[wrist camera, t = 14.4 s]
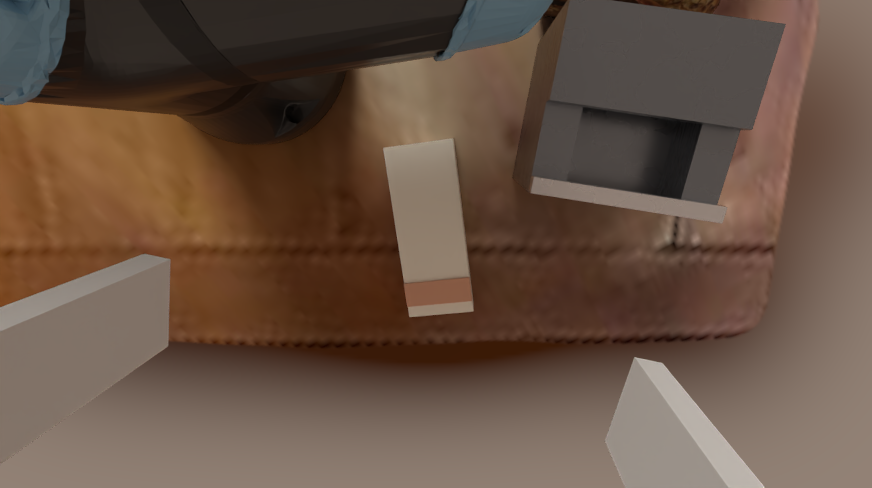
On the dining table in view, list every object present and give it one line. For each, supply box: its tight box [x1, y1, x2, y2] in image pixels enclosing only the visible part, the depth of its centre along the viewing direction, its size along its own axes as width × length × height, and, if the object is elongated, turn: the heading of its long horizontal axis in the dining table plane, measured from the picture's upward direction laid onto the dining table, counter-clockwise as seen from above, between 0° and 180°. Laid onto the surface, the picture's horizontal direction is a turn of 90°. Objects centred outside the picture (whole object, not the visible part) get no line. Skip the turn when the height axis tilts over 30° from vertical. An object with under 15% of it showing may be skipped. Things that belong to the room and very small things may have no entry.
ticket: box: [383, 138, 474, 317], centre depth 35 cm, size 5×14×3 cm, turn 7°
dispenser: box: [512, 0, 786, 223], centre depth 28 cm, size 10×10×11 cm
